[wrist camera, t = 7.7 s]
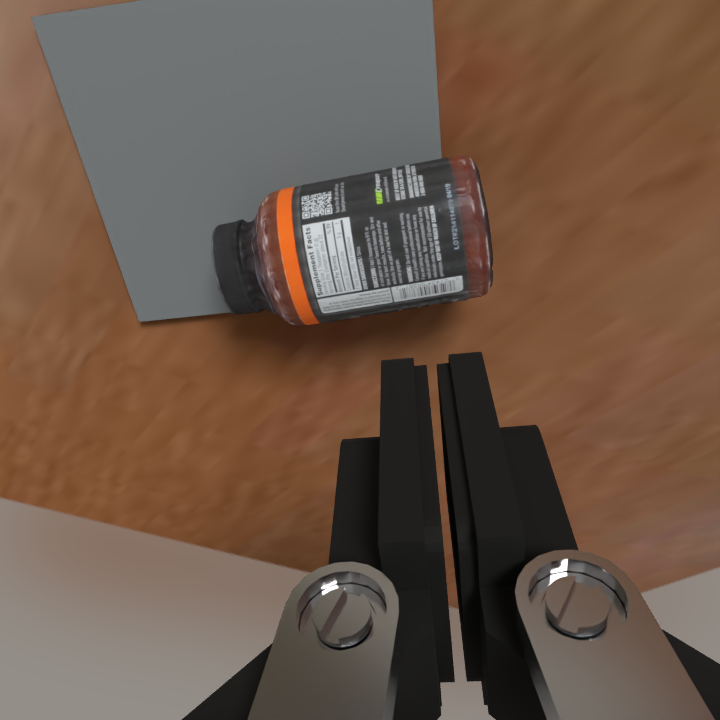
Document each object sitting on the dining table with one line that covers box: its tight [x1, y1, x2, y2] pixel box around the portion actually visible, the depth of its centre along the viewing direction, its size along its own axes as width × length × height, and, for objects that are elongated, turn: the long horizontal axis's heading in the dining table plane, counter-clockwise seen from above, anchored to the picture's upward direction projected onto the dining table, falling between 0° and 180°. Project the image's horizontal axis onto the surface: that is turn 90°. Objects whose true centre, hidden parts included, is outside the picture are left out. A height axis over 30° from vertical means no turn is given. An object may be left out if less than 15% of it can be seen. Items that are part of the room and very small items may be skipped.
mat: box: [31, 0, 442, 322], centre depth 28 cm, size 16×14×1 cm
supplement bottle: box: [211, 156, 493, 326], centre depth 27 cm, size 6×6×11 cm
